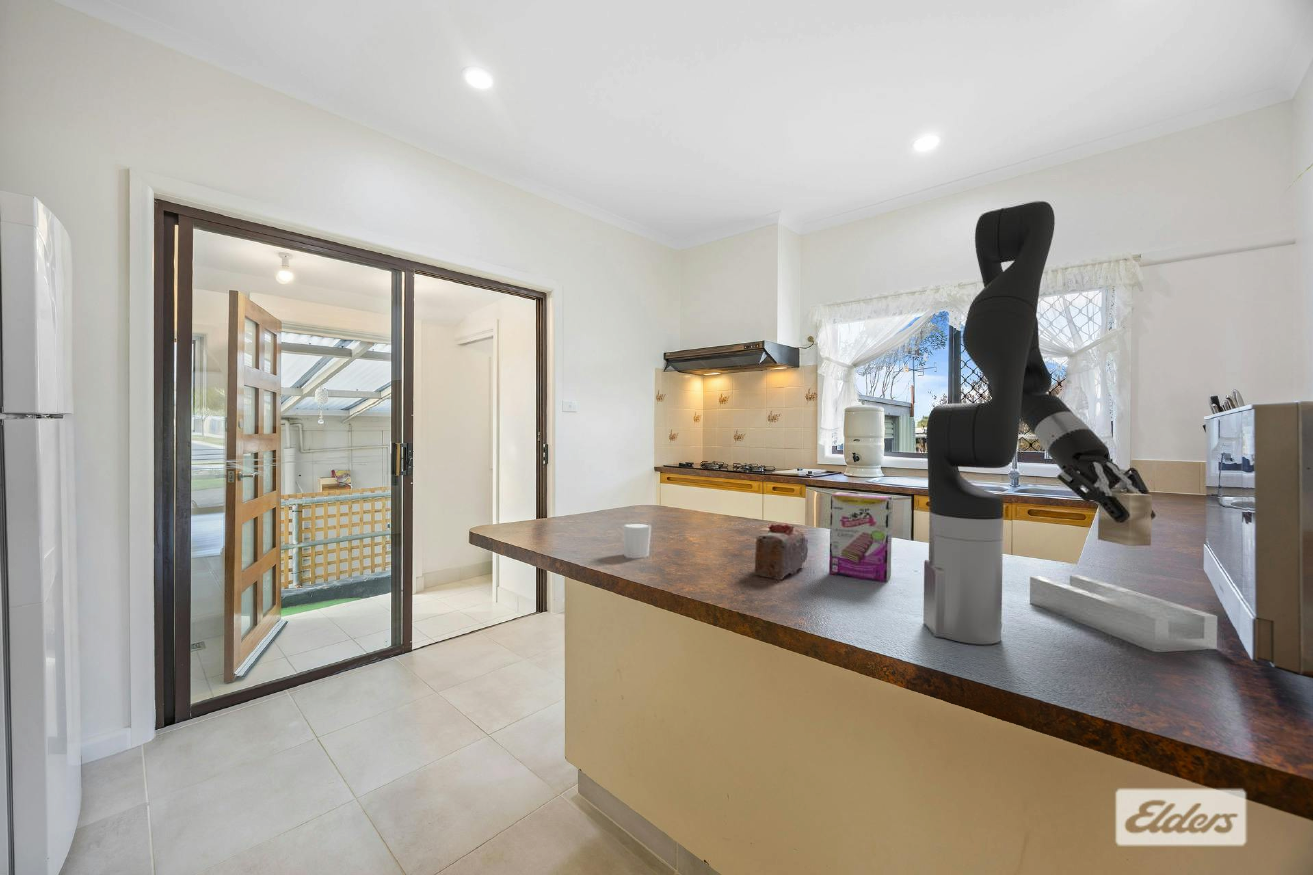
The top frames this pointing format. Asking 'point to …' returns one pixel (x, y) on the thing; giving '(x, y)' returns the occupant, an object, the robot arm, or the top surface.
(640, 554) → the white cylinder
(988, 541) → the robot arm
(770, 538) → the food item
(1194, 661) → the top surface
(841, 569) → the candy bar box
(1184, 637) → the rail
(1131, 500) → the oak block
